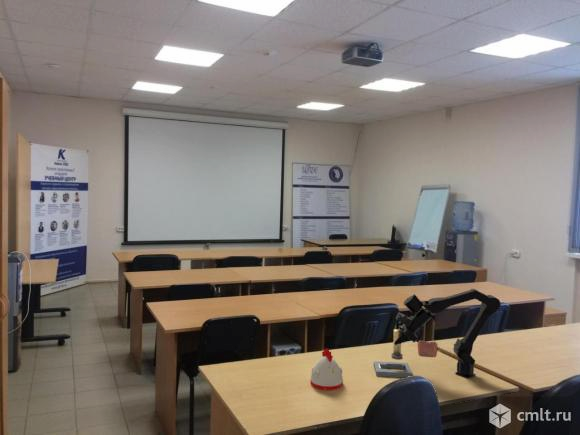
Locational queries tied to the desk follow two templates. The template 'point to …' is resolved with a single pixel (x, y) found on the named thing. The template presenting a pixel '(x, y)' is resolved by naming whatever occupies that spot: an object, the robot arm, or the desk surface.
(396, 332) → the brass peg
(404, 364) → the square frame
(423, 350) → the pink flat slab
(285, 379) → the desk surface
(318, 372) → the kitchen timer
